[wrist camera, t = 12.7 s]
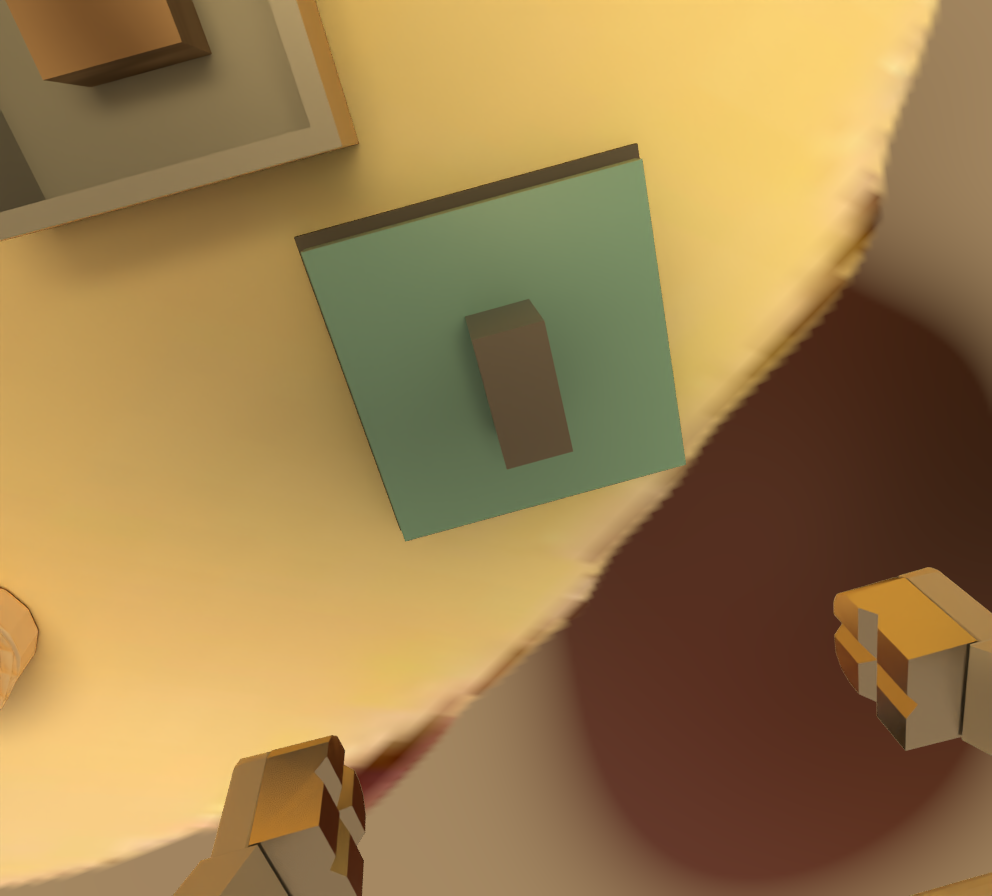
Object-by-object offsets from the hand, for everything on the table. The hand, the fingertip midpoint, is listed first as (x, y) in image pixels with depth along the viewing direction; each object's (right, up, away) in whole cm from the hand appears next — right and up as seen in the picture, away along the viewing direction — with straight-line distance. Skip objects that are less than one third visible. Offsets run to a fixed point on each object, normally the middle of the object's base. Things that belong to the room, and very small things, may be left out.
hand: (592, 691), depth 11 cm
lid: (-1, +9, +23) cm, 25 cm away
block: (-16, +21, +15) cm, 31 cm away
